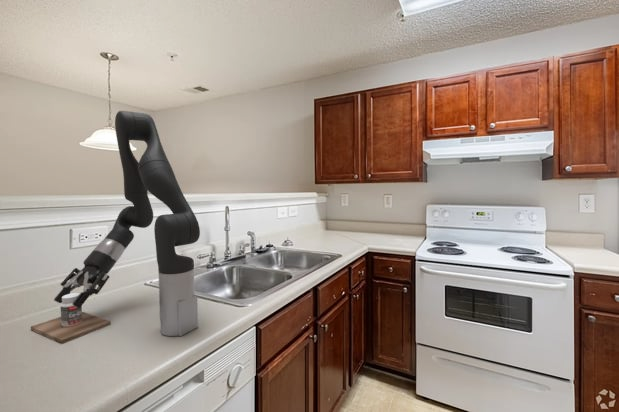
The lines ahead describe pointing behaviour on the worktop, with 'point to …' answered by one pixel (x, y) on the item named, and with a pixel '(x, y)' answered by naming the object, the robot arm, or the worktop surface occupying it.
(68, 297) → the pill bottle
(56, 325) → the walnut board
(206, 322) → the worktop surface
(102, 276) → the robot arm
